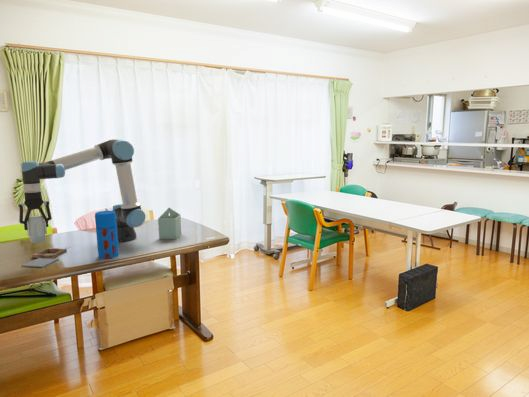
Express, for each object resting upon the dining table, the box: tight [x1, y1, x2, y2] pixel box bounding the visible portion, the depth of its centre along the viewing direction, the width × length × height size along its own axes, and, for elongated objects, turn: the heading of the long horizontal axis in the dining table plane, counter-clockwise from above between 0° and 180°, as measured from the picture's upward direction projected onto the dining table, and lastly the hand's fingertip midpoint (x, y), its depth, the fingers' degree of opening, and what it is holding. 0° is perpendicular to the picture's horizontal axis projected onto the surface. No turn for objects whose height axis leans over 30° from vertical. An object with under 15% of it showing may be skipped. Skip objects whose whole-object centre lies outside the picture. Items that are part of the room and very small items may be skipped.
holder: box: [31, 247, 68, 259], centre depth 213 cm, size 12×12×2 cm
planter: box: [157, 207, 182, 240], centre depth 246 cm, size 16×8×20 cm, turn 133°
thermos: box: [94, 210, 120, 260], centre depth 210 cm, size 11×11×25 cm
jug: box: [27, 215, 47, 244], centre depth 196 cm, size 13×7×13 cm, turn 40°
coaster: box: [21, 258, 59, 268], centre depth 200 cm, size 12×12×1 cm
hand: (37, 234), depth 197 cm, fingers closed on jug, 7 cm apart
